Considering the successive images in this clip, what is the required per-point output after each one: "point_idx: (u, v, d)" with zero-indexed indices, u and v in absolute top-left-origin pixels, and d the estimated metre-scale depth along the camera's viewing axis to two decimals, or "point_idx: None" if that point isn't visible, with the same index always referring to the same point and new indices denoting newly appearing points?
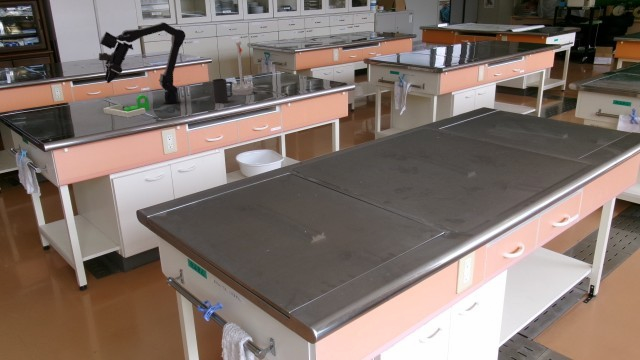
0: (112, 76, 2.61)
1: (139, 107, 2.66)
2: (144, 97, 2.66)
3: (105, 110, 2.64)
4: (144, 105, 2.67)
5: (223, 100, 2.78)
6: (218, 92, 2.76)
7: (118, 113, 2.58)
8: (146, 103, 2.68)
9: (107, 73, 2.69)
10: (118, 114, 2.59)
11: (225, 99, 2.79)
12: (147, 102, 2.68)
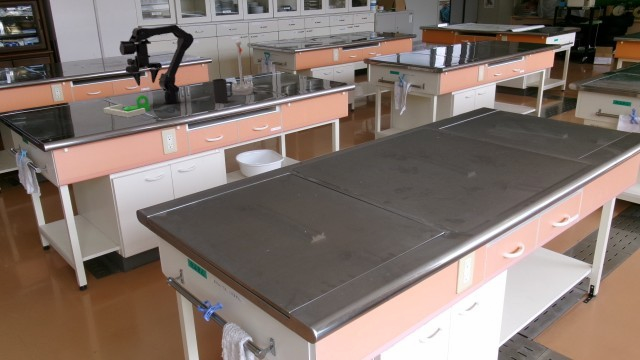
0: (136, 78, 2.65)
1: (139, 107, 2.66)
2: (144, 97, 2.65)
3: (105, 110, 2.64)
4: (144, 105, 2.67)
5: (223, 100, 2.78)
6: (218, 92, 2.76)
7: (118, 113, 2.58)
8: (146, 103, 2.67)
9: (151, 76, 2.74)
10: (118, 114, 2.59)
11: (225, 99, 2.79)
12: (147, 102, 2.67)
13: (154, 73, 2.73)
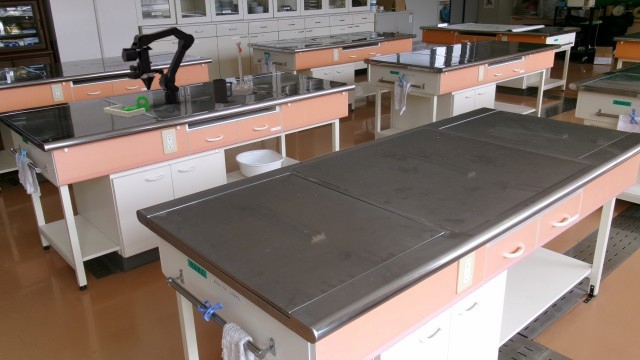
0: (146, 83, 2.70)
1: (138, 108, 2.65)
2: (144, 98, 2.64)
3: (105, 110, 2.64)
4: (144, 106, 2.66)
5: (223, 100, 2.78)
6: (218, 92, 2.76)
7: (118, 113, 2.58)
8: (146, 104, 2.66)
9: None
10: (118, 114, 2.59)
11: (225, 99, 2.79)
12: (147, 103, 2.66)
13: (149, 80, 2.71)
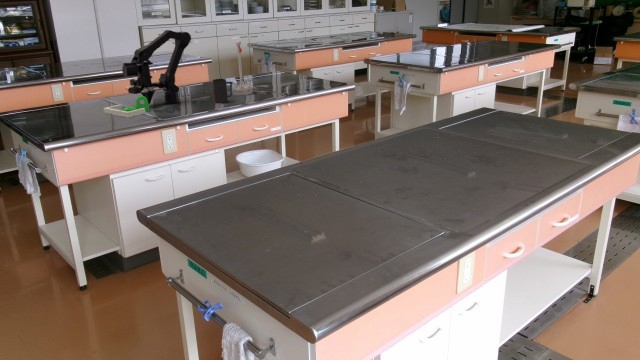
0: (146, 97, 2.72)
1: (138, 108, 2.64)
2: (143, 98, 2.63)
3: (105, 110, 2.64)
4: (143, 106, 2.65)
5: (223, 100, 2.78)
6: (218, 92, 2.76)
7: (118, 113, 2.58)
8: (145, 104, 2.65)
9: None
10: (118, 114, 2.59)
11: (225, 99, 2.79)
12: (146, 103, 2.65)
13: None
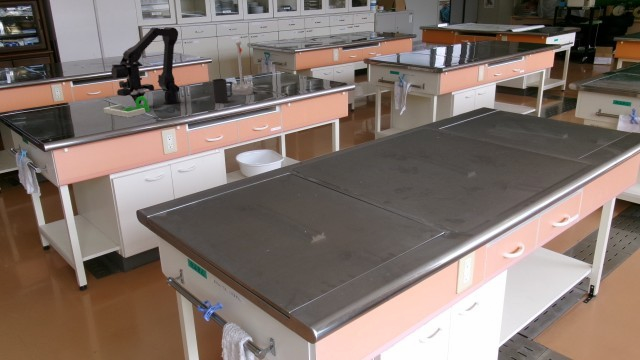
0: (135, 99, 2.67)
1: (137, 108, 2.64)
2: (142, 99, 2.62)
3: (105, 110, 2.64)
4: (142, 107, 2.64)
5: (223, 100, 2.78)
6: (218, 92, 2.76)
7: (118, 113, 2.58)
8: (145, 105, 2.64)
9: None
10: (118, 114, 2.59)
11: (225, 99, 2.79)
12: (146, 104, 2.64)
13: None
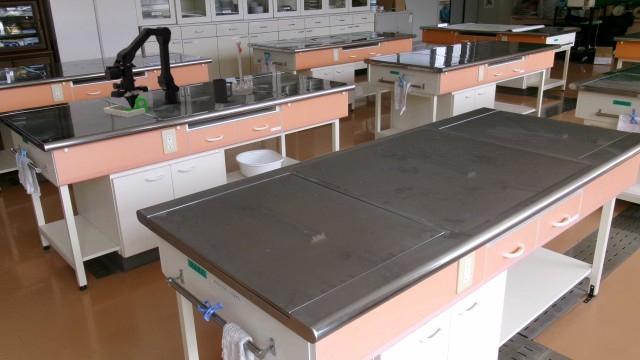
0: (129, 101, 2.64)
1: None
2: (142, 99, 2.61)
3: (105, 110, 2.64)
4: (142, 107, 2.62)
5: (223, 100, 2.78)
6: (218, 92, 2.76)
7: (118, 113, 2.58)
8: (144, 105, 2.62)
9: None
10: (118, 114, 2.59)
11: (225, 99, 2.79)
12: (145, 104, 2.62)
13: (133, 98, 2.65)
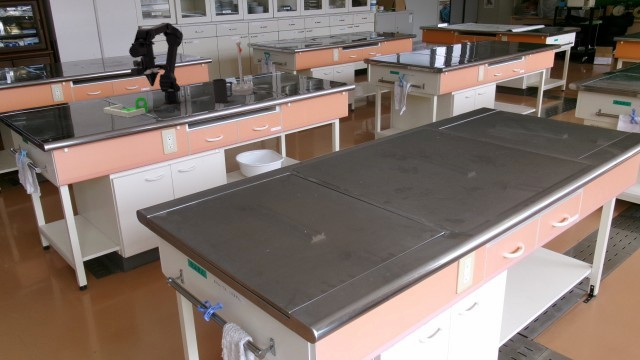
0: (149, 78, 2.63)
1: None
2: (142, 99, 2.61)
3: (105, 110, 2.64)
4: (142, 107, 2.62)
5: (223, 100, 2.78)
6: (218, 92, 2.76)
7: (118, 113, 2.58)
8: (144, 106, 2.62)
9: None
10: (118, 114, 2.59)
11: (225, 99, 2.79)
12: (145, 105, 2.62)
13: (153, 76, 2.64)
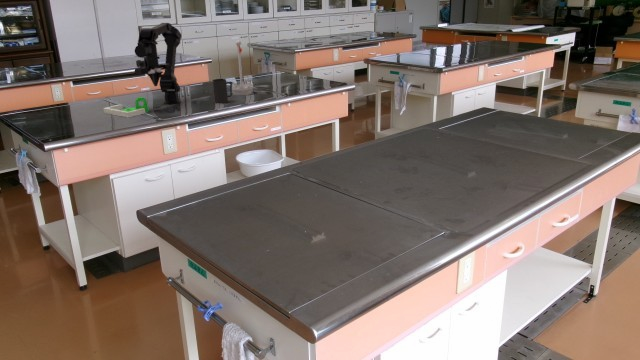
0: (153, 78, 2.63)
1: None
2: (142, 99, 2.61)
3: (105, 110, 2.64)
4: (142, 107, 2.62)
5: (223, 100, 2.78)
6: (218, 92, 2.76)
7: (118, 113, 2.58)
8: (144, 106, 2.62)
9: None
10: (118, 114, 2.59)
11: (225, 99, 2.79)
12: (145, 105, 2.62)
13: None
